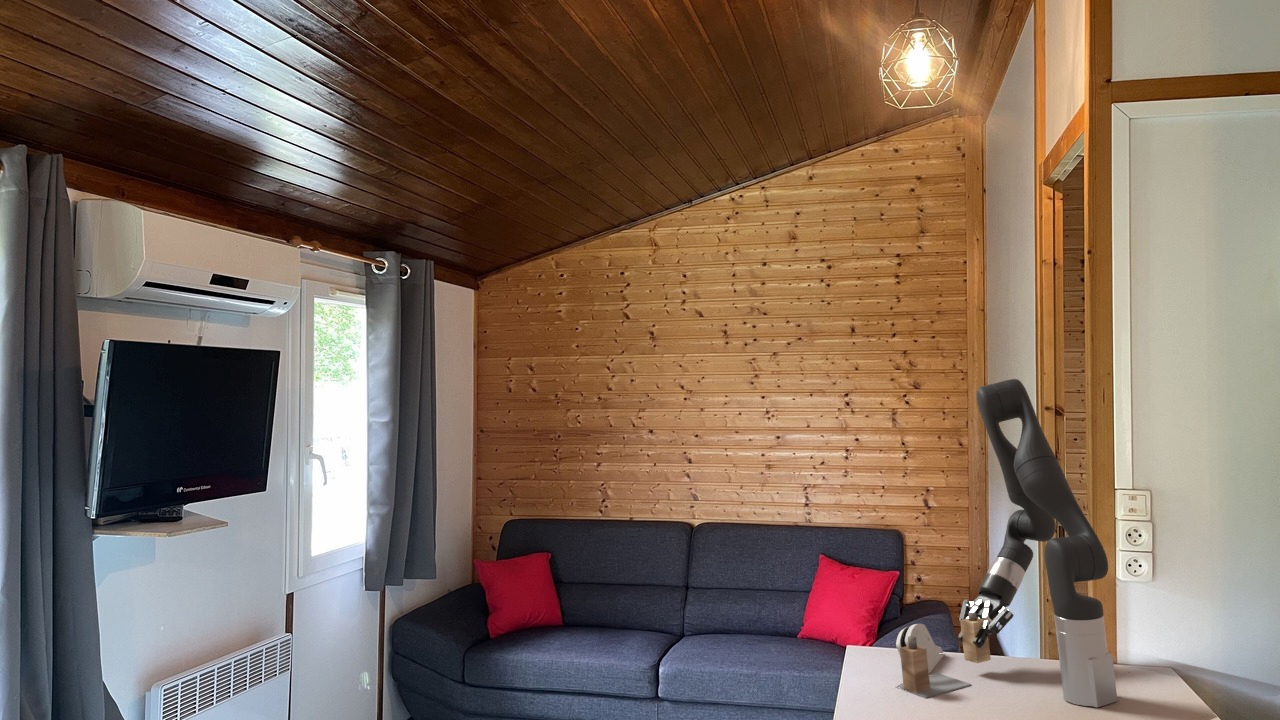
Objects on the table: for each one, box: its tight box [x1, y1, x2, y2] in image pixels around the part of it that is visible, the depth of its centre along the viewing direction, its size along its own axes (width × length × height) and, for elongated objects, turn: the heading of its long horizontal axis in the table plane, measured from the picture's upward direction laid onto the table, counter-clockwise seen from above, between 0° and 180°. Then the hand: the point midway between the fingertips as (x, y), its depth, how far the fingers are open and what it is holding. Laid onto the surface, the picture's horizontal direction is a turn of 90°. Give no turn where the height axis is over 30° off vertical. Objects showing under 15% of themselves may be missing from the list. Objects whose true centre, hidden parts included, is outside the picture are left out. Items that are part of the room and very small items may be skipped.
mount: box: [896, 636, 972, 699], centre depth 203 cm, size 10×13×12 cm
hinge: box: [895, 623, 945, 674], centre depth 220 cm, size 17×5×10 cm, turn 149°
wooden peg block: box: [959, 612, 992, 664], centre depth 208 cm, size 4×4×11 cm
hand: (969, 643), depth 207 cm, fingers closed on wooden peg block, 4 cm apart
